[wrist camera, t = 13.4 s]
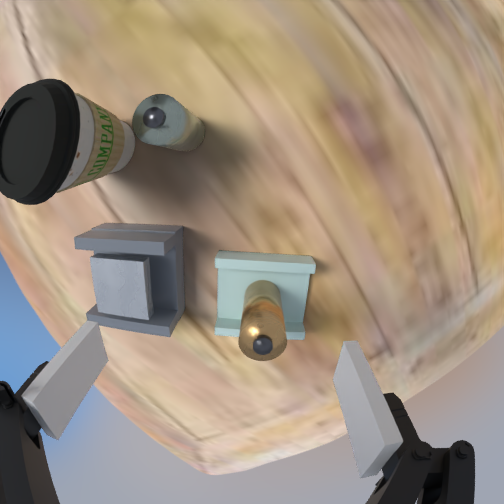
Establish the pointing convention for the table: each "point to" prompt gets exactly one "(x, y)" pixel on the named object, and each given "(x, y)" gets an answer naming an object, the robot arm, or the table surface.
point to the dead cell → (167, 124)
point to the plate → (122, 285)
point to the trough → (262, 268)
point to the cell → (262, 322)
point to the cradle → (161, 271)
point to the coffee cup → (57, 142)
